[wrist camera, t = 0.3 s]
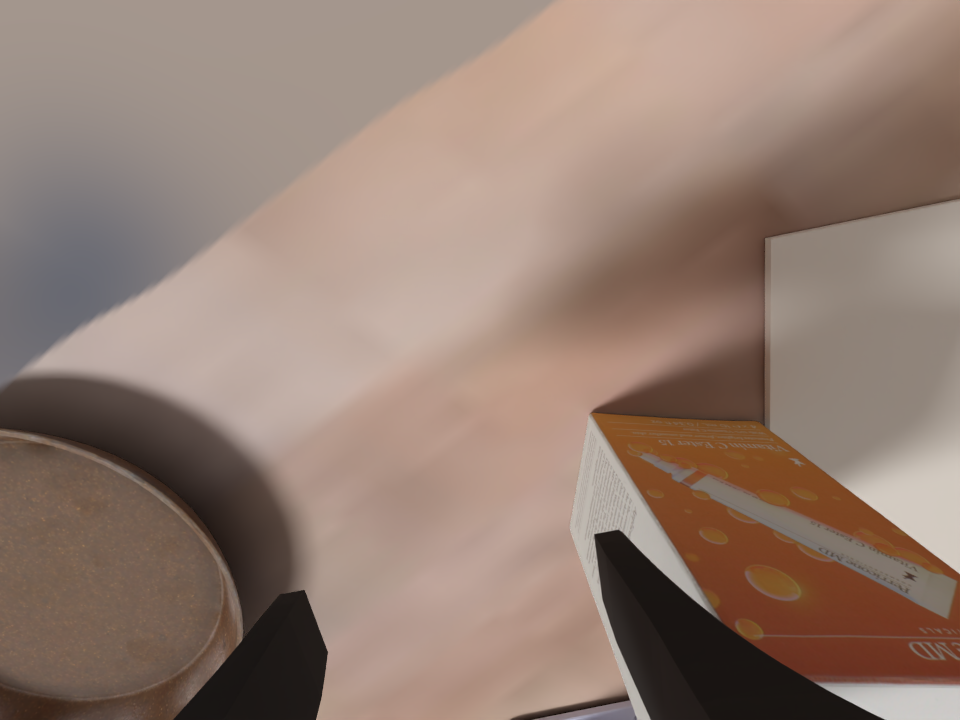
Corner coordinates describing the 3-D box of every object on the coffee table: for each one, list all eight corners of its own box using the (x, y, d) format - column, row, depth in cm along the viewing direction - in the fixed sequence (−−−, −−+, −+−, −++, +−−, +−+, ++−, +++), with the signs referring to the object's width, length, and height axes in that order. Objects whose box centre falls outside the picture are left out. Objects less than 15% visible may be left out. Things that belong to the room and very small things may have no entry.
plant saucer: (-49, 311, 19) (-136, 333, 16) (336, 539, 24) (321, 587, 21) (-208, 603, 23) (-301, 662, 20) (151, 752, 27) (117, 818, 25)
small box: (758, 417, 23) (1126, 687, 10) (724, 533, 25) (999, 874, 12) (585, 407, 22) (760, 685, 10) (564, 528, 24) (688, 883, 12)
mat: (1003, 566, 27) (1011, 572, 26) (764, 614, 27) (769, 621, 26) (1083, 173, 20) (1095, 173, 20) (764, 238, 20) (771, 239, 20)
